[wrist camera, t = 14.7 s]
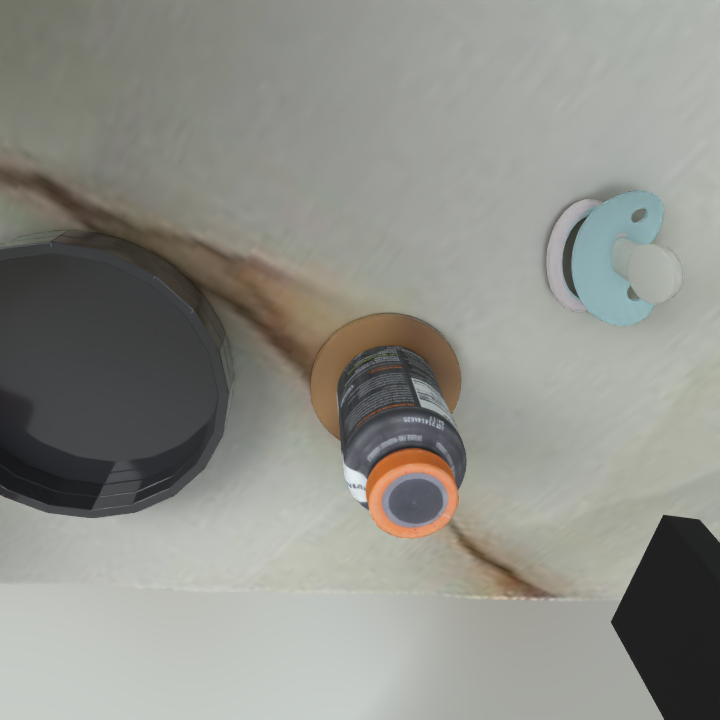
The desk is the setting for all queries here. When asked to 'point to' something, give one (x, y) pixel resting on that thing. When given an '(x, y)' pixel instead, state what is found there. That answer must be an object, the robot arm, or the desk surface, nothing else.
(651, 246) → the pacifier
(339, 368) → the coaster
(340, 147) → the desk surface
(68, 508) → the pan
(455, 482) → the pill bottle
